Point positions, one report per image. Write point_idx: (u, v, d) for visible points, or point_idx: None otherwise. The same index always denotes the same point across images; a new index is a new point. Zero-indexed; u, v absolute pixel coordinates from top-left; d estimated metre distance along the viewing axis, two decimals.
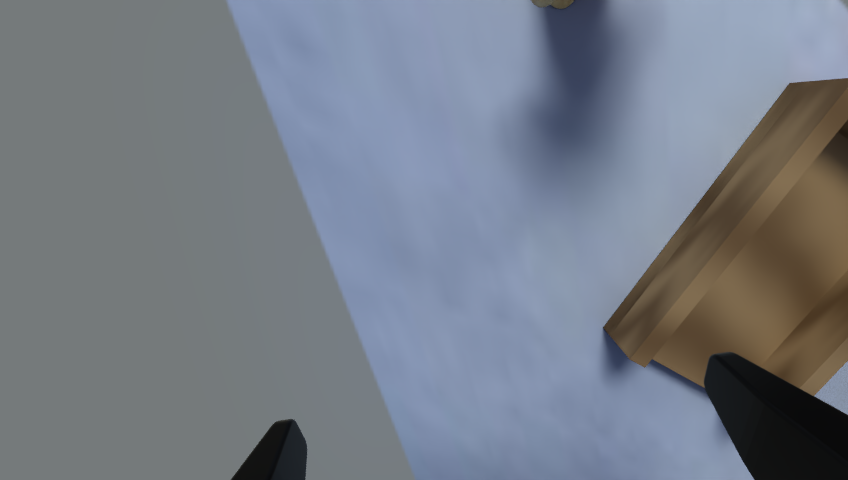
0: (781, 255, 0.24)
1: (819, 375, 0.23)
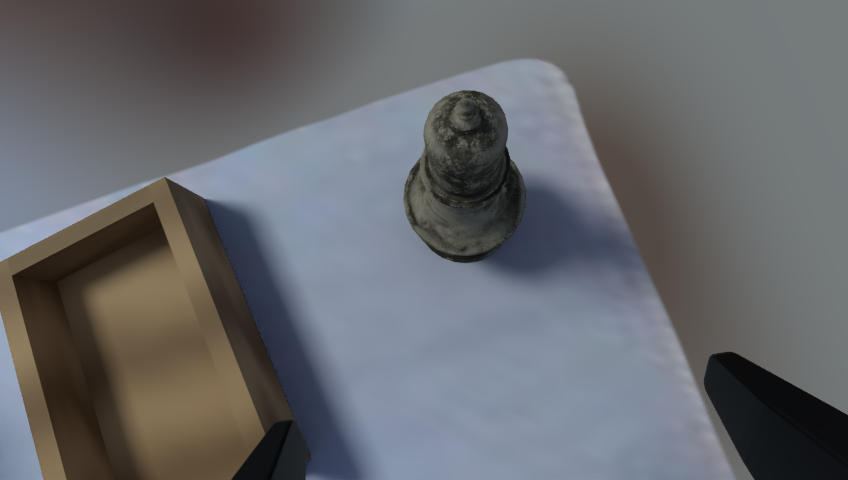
0: (159, 348, 0.23)
1: (235, 395, 0.20)
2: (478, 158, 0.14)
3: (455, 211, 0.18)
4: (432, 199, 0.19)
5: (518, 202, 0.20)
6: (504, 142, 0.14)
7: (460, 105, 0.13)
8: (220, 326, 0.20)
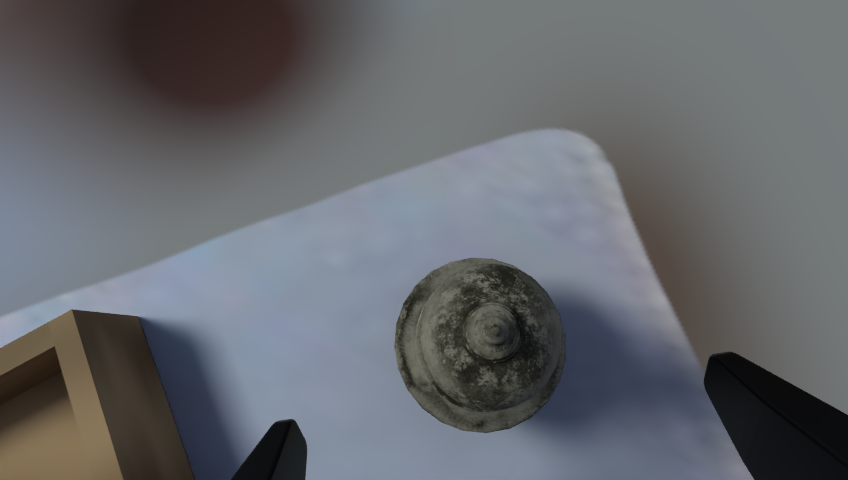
0: None
1: None
2: (515, 399, 0.08)
3: None
4: None
5: None
6: (558, 359, 0.08)
7: (485, 331, 0.07)
8: None
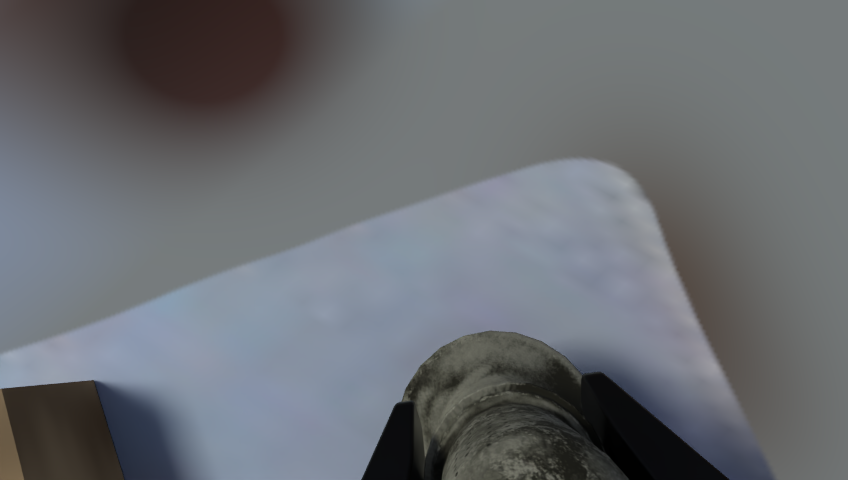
0: None
1: None
2: None
3: None
4: None
5: None
6: None
7: None
8: None
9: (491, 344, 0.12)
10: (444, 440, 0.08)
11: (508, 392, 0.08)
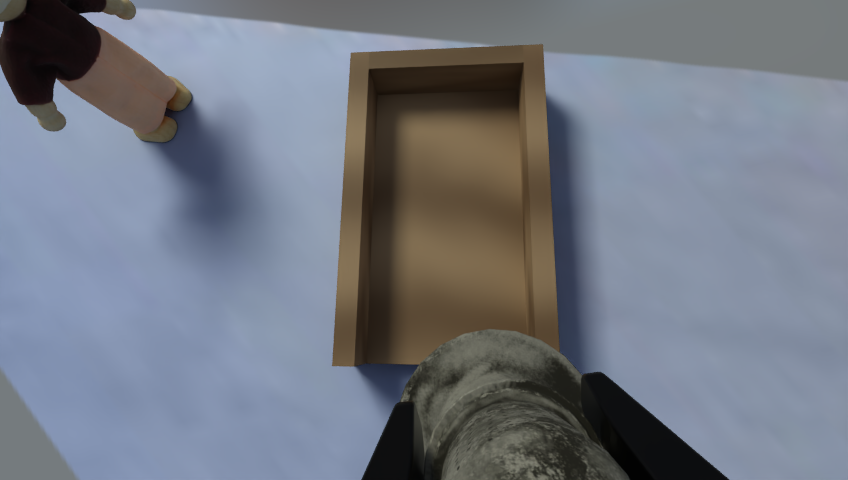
0: (450, 198, 0.23)
1: (541, 272, 0.19)
2: None
3: None
4: None
5: None
6: None
7: None
8: (549, 205, 0.20)
9: (491, 342, 0.13)
10: (444, 436, 0.08)
11: (508, 389, 0.09)
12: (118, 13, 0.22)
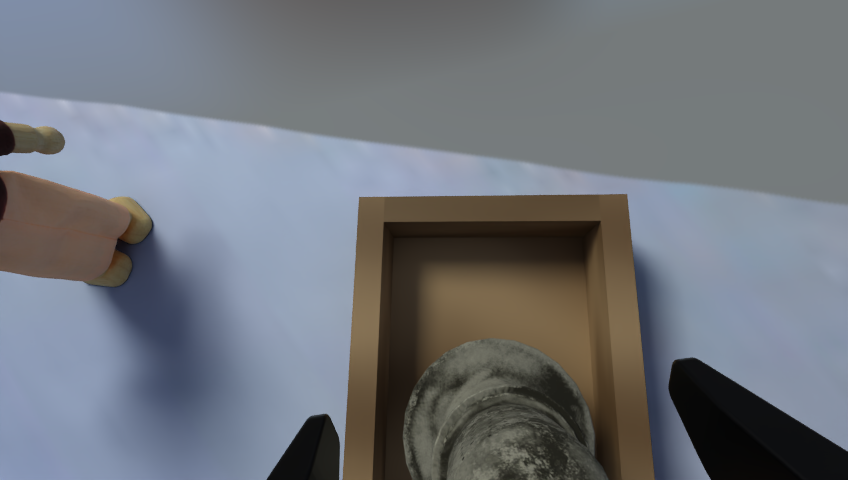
0: None
1: None
2: None
3: None
4: None
5: None
6: None
7: None
8: (648, 448, 0.14)
9: (492, 350, 0.14)
10: (450, 433, 0.10)
11: (505, 393, 0.10)
12: (37, 150, 0.16)
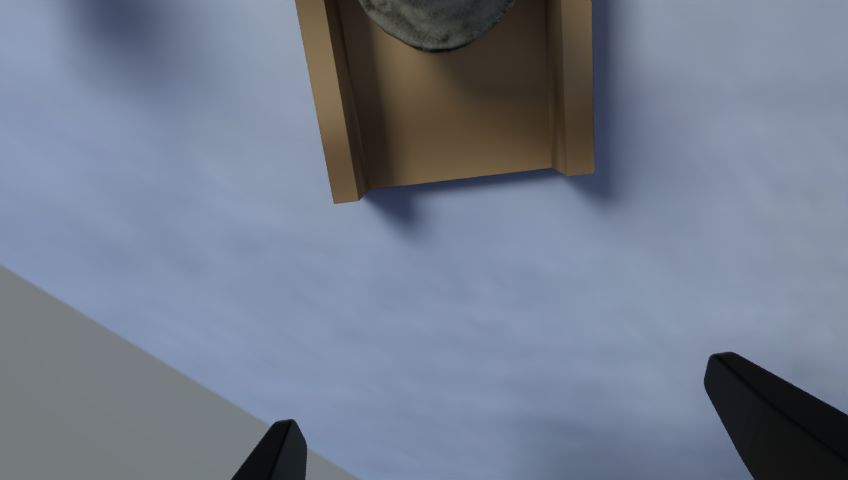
0: None
1: (573, 54, 0.15)
2: None
3: None
4: None
5: None
6: None
7: None
8: None
9: None
10: None
11: None
12: None
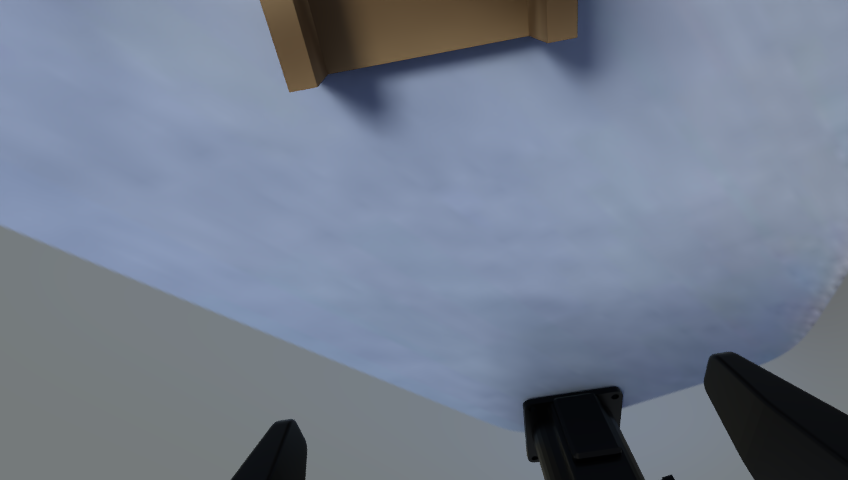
0: None
1: None
2: None
3: None
4: None
5: None
6: None
7: None
8: None
9: None
10: None
11: None
12: None
